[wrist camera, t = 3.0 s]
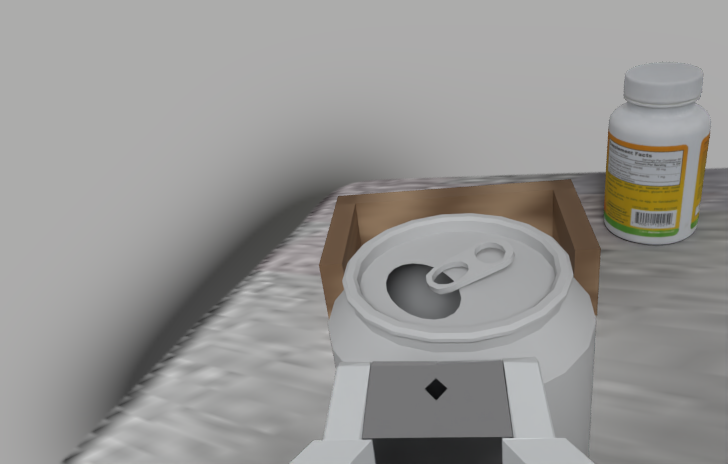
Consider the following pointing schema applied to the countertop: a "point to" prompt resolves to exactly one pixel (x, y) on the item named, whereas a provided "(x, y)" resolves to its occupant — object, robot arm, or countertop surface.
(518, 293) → the can
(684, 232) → the supplement bottle
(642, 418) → the countertop surface
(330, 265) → the corral
